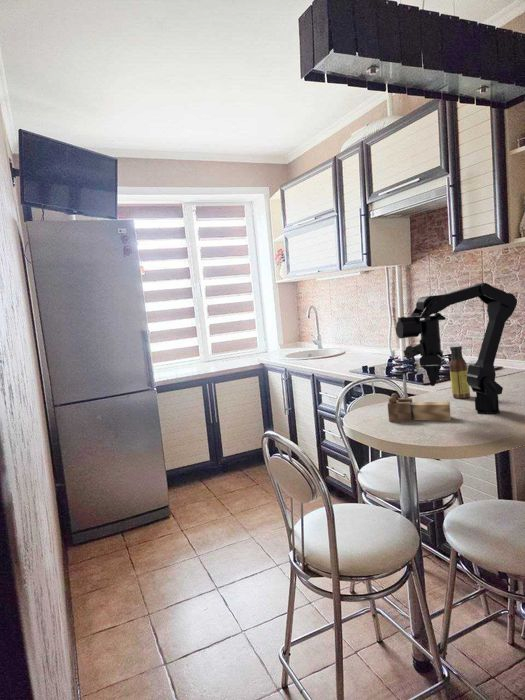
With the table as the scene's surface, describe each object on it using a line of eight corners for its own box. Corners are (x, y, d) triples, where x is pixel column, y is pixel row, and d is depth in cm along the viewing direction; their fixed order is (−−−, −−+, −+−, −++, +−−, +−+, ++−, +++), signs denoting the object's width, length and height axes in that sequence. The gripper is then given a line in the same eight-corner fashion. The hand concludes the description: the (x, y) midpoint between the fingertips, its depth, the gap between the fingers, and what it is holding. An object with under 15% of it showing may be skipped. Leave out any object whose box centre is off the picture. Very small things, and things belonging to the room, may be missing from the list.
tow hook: (391, 406, 166) (395, 410, 157) (388, 372, 166) (392, 375, 157) (414, 404, 165) (419, 409, 156) (411, 371, 165) (416, 373, 155)
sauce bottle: (471, 395, 168) (467, 344, 166) (469, 399, 162) (465, 346, 161) (453, 395, 171) (449, 345, 170) (450, 398, 166) (446, 347, 164)
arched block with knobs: (413, 415, 149) (411, 392, 148) (411, 421, 141) (409, 397, 141) (392, 415, 151) (390, 392, 151) (389, 421, 144) (387, 397, 144)
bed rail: (450, 416, 142) (449, 401, 142) (450, 420, 138) (449, 404, 138) (405, 416, 148) (404, 402, 147) (404, 419, 144) (403, 405, 144)
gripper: (407, 334, 151) (410, 378, 153) (400, 339, 134) (404, 389, 136) (441, 332, 147) (444, 377, 148) (439, 337, 130) (443, 388, 131)
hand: (433, 383), depth 141 cm, fingers open, 9 cm apart
